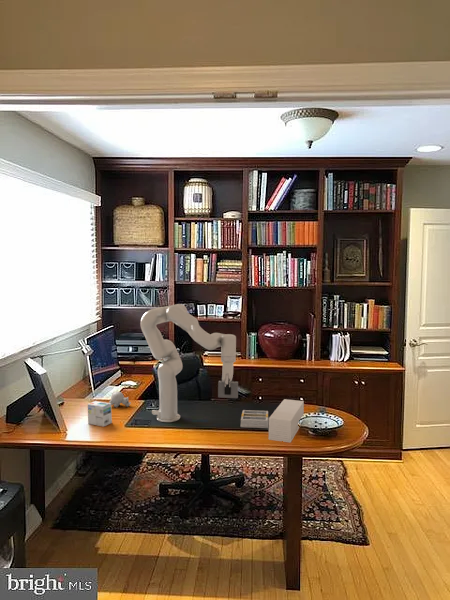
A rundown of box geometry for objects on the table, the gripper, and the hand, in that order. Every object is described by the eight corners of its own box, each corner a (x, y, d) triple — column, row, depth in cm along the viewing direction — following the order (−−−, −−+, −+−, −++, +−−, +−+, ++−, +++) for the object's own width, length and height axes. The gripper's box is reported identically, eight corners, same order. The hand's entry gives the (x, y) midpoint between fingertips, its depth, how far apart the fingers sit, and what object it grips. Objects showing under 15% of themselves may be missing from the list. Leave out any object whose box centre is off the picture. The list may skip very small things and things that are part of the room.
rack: (240, 427, 240) (240, 419, 240) (242, 416, 256) (242, 409, 256) (267, 428, 239) (268, 420, 239) (268, 417, 255) (268, 410, 254)
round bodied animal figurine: (125, 413, 270) (130, 399, 269) (106, 404, 271) (111, 391, 270) (129, 408, 277) (134, 396, 276) (111, 400, 278) (116, 387, 277)
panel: (218, 397, 242) (218, 382, 241) (218, 395, 245) (218, 380, 244) (237, 398, 241) (237, 382, 240) (237, 396, 244) (238, 381, 243)
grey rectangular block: (290, 443, 221) (290, 420, 220) (268, 440, 224) (268, 418, 223) (303, 420, 250) (303, 401, 249) (283, 418, 254) (284, 399, 253)
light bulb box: (112, 423, 247) (111, 402, 246) (103, 427, 241) (103, 406, 240) (96, 420, 251) (95, 400, 250) (87, 424, 245) (87, 403, 244)
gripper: (222, 355, 249) (222, 388, 251) (219, 361, 233) (218, 397, 235) (236, 355, 248) (236, 389, 250) (234, 362, 233) (233, 398, 234)
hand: (227, 393), depth 243 cm, fingers closed on panel, 2 cm apart
